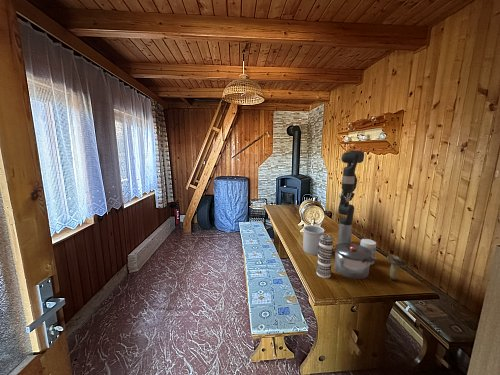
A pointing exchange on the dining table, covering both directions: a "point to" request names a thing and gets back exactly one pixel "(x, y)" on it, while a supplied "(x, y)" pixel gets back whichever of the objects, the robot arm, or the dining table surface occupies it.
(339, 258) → the cooker pot
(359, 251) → the cooker lid
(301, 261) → the dining table surface
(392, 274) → the mushroom
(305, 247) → the utensil holder
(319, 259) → the decorative candle
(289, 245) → the dining table surface
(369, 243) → the supplement tub
